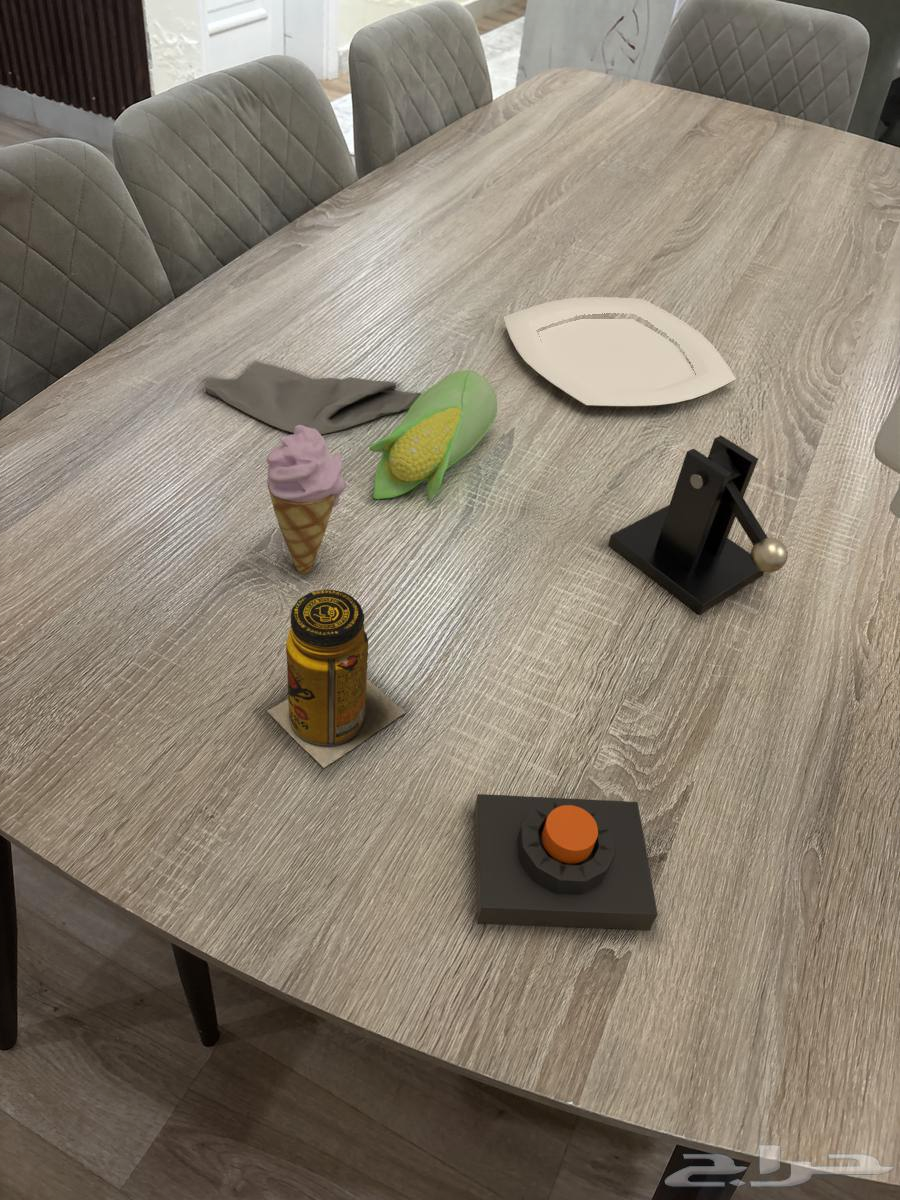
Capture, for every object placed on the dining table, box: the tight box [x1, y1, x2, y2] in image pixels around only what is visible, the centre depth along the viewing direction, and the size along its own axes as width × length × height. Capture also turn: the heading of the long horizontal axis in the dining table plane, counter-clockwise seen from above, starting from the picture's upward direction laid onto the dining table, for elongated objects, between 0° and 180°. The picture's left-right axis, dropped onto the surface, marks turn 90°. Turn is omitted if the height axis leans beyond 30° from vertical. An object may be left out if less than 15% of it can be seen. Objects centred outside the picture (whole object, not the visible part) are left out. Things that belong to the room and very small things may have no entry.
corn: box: [369, 369, 498, 500], centre depth 100 cm, size 8×8×20 cm
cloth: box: [204, 361, 422, 435], centre depth 107 cm, size 26×14×2 cm, turn 81°
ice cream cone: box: [266, 425, 347, 575], centre depth 83 cm, size 7×6×15 cm
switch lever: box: [707, 449, 789, 574], centre depth 86 cm, size 12×3×3 cm, turn 39°
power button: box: [542, 805, 598, 864], centre depth 64 cm, size 4×4×2 cm
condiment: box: [266, 589, 406, 769], centre depth 72 cm, size 7×8×12 cm
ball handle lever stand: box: [607, 435, 765, 616], centre depth 89 cm, size 12×10×13 cm
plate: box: [503, 296, 737, 408], centre depth 121 cm, size 27×27×2 cm
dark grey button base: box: [473, 793, 658, 931], centre depth 66 cm, size 12×9×4 cm
